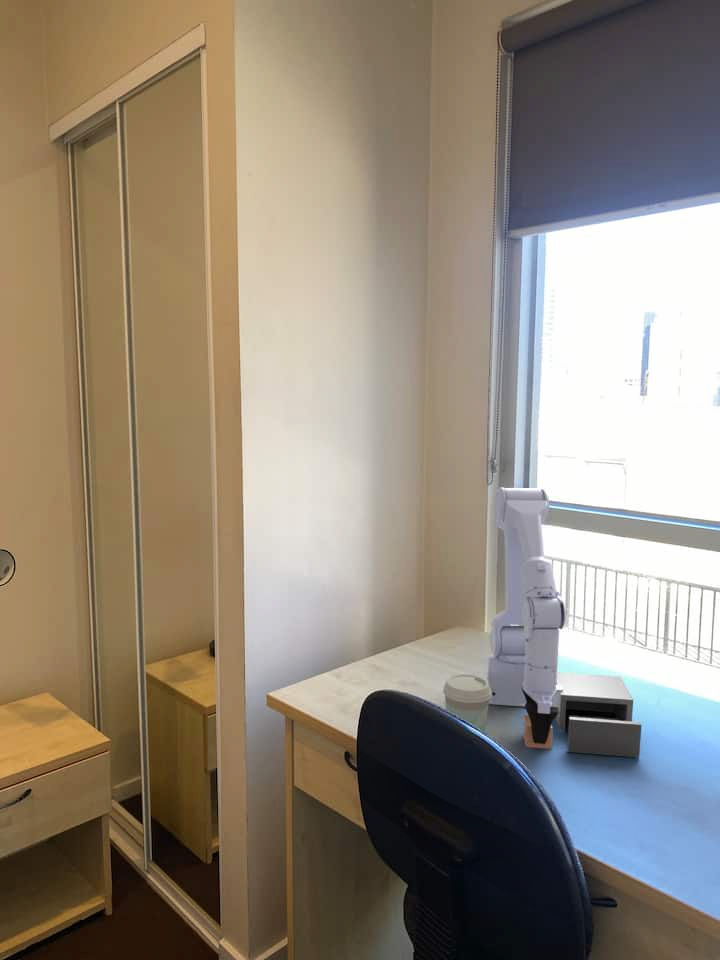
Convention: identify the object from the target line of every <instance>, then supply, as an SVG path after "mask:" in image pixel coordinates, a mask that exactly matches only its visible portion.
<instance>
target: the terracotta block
mask: <svg viewBox="0 0 720 960" xmlns="http://www.w3.org/2000/svg"><path fill="white" fill-rule="evenodd" d="M523 718H524V720H523V721H524V722H523V739H524V744H525V747H528V748H537V749H549V750H551V749H552V748H553V747H552V746H553V745H552V743H553V726H552V725H553V724H552V725H551V728H550V731H549V735H548V738H547V741H546V744H539V743H534V741H533V737H532V729H531V721H530V718H529V715H528V714H524V717H523Z"/></svg>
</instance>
